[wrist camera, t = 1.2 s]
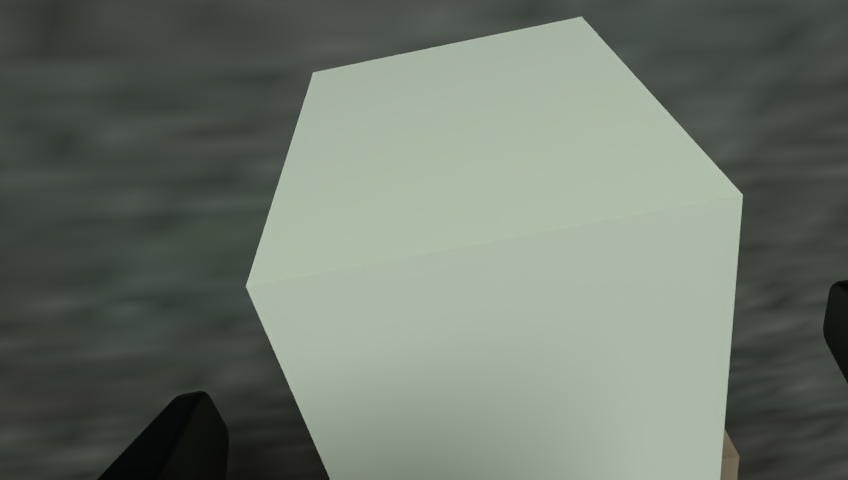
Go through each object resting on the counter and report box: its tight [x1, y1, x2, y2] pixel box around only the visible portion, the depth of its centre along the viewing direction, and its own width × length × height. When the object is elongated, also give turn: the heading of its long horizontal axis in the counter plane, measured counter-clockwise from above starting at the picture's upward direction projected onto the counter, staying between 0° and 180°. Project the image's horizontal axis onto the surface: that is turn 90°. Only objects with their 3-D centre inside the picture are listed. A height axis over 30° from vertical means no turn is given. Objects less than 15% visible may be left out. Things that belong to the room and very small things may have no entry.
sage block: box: [246, 17, 743, 480], centre depth 10 cm, size 4×7×6 cm, turn 11°
